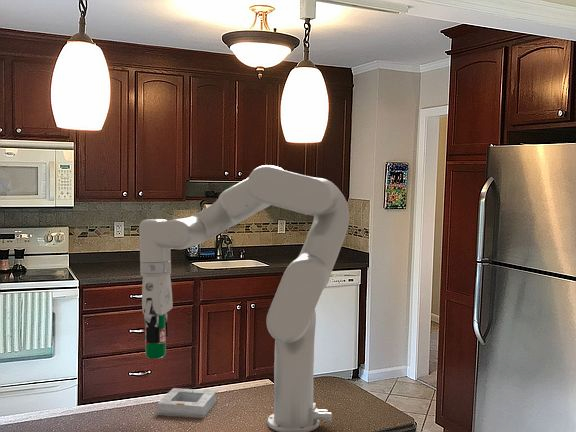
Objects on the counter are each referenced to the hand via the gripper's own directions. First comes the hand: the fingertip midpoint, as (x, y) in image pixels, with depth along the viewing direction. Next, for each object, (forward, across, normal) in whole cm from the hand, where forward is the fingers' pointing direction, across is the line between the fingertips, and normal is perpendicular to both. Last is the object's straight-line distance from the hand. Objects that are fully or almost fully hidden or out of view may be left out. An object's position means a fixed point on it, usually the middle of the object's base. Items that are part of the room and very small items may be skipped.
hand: (157, 339), depth 158 cm
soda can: (+5, 0, 0) cm, 5 cm away
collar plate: (+19, +4, -6) cm, 20 cm away
